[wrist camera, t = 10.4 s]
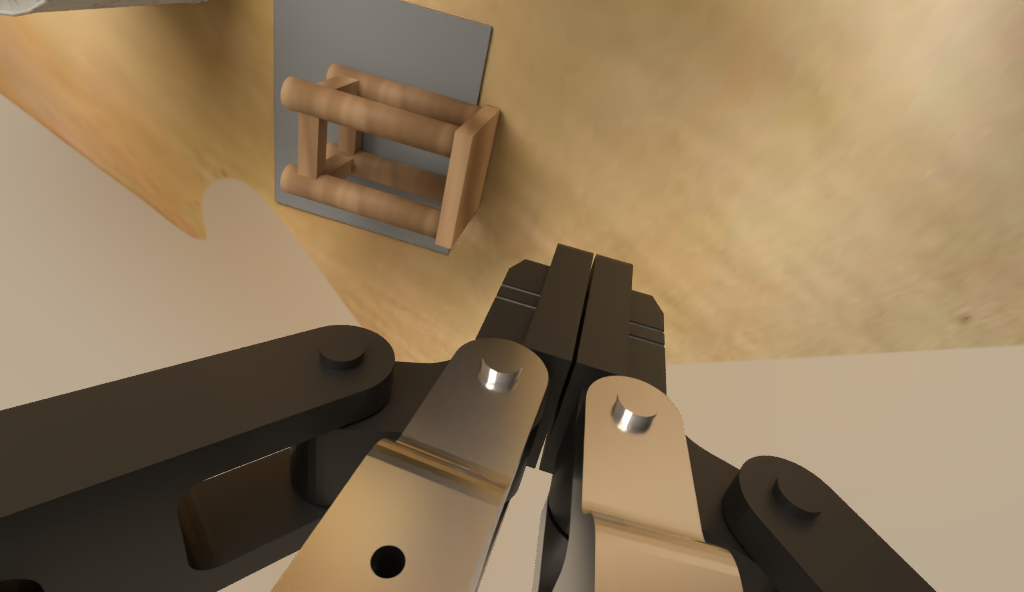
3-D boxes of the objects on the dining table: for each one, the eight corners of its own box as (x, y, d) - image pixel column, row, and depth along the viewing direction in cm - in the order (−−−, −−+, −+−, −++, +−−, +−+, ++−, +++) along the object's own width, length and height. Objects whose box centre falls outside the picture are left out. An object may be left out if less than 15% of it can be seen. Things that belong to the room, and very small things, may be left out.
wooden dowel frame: (472, 136, 29) (280, 78, 30) (450, 248, 33) (280, 196, 33) (500, 109, 35) (339, 61, 36) (479, 207, 39) (333, 162, 39)
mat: (492, 26, 33) (491, 26, 33) (448, 253, 42) (447, 254, 41) (275, -36, 34) (273, -36, 33) (276, 200, 42) (274, 201, 42)
